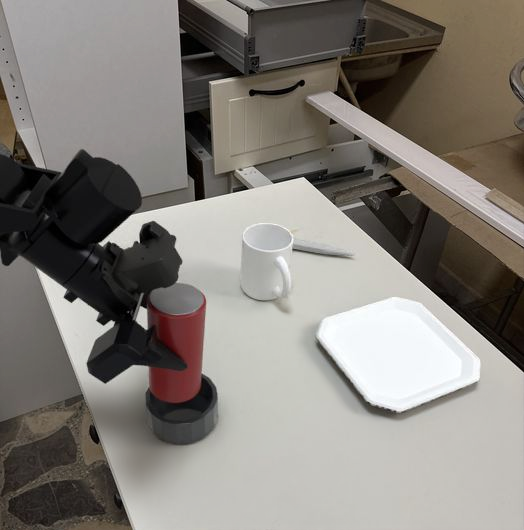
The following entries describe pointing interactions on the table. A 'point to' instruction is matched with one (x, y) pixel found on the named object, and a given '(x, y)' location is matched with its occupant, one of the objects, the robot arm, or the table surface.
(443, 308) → the table surface
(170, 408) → the bowl
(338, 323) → the plate
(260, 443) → the table surface
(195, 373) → the can
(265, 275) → the mug
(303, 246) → the tool
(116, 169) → the robot arm
